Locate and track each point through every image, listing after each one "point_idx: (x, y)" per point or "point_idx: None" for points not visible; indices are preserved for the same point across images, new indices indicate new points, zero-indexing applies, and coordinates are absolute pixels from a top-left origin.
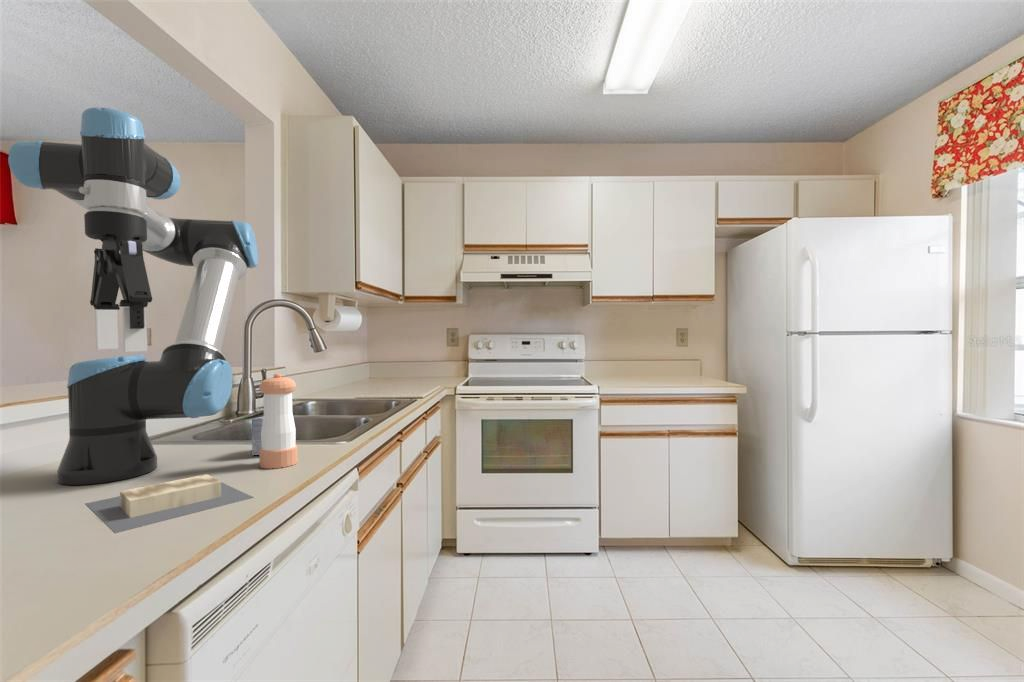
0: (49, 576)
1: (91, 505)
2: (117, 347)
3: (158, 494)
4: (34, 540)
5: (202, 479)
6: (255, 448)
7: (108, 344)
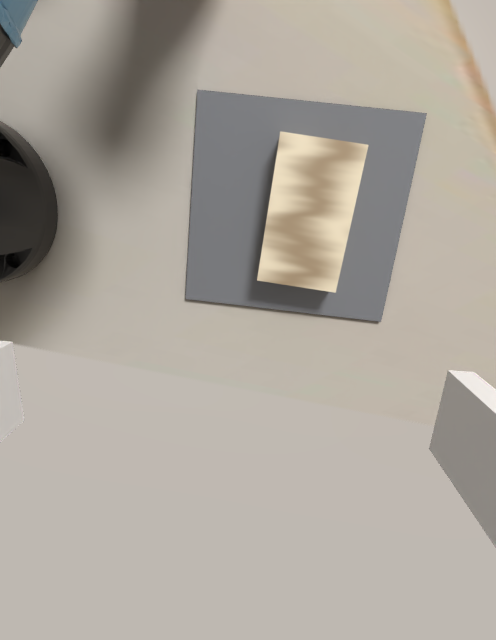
0: None
1: (206, 296)
2: (8, 347)
3: (341, 252)
4: (300, 378)
5: (314, 158)
6: None
7: (3, 392)
